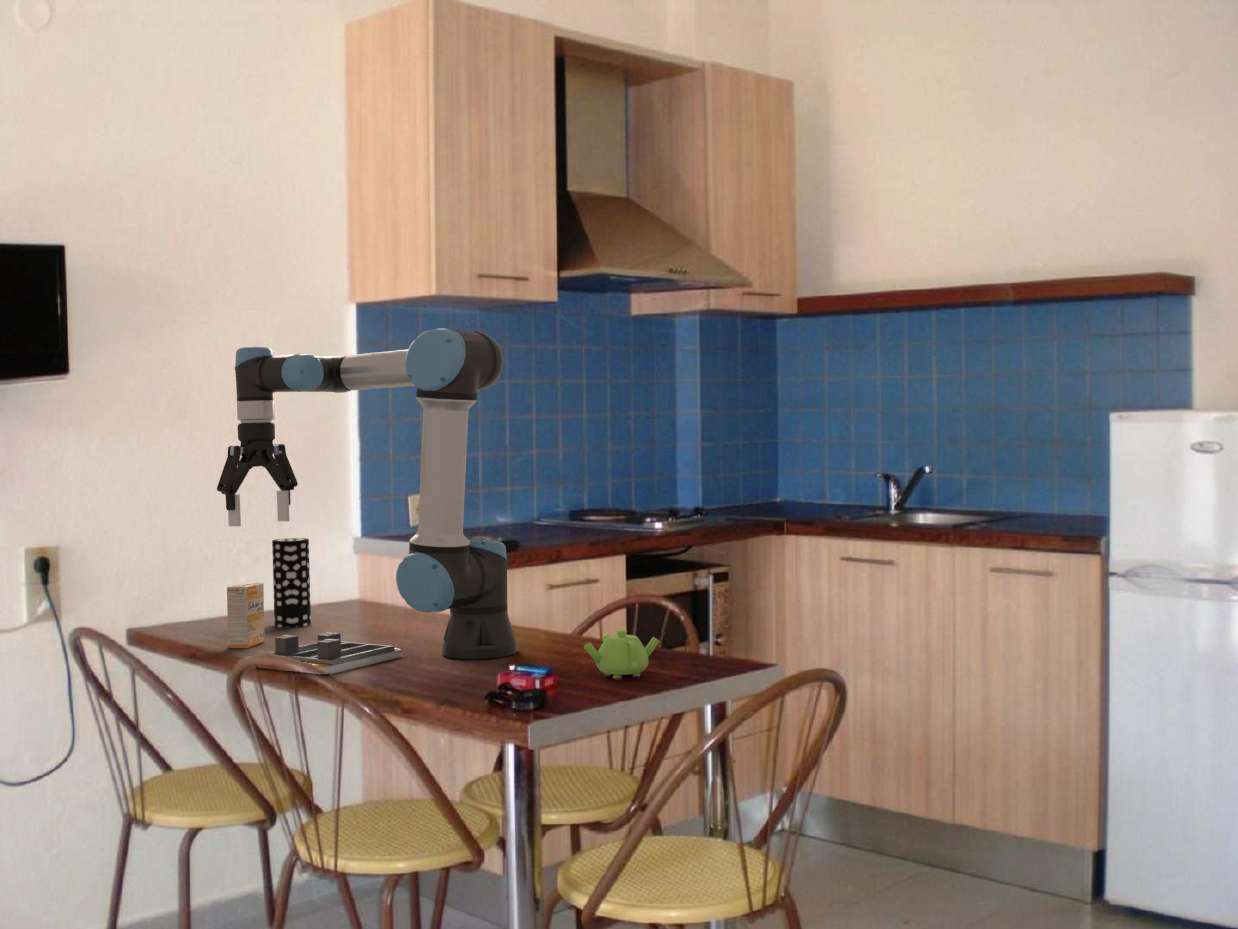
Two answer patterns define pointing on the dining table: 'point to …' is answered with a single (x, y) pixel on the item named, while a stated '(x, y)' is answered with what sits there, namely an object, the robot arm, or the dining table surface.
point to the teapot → (622, 654)
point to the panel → (346, 656)
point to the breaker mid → (329, 636)
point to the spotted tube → (291, 582)
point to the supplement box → (245, 615)
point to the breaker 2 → (329, 649)
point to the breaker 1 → (286, 645)
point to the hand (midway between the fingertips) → (259, 523)
